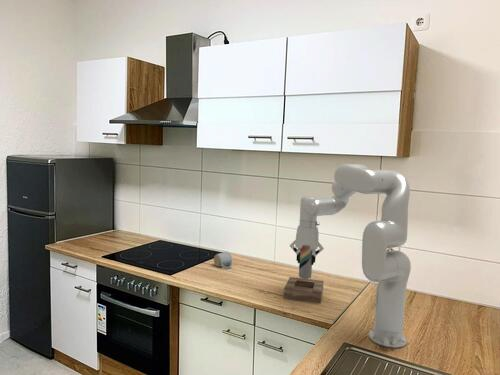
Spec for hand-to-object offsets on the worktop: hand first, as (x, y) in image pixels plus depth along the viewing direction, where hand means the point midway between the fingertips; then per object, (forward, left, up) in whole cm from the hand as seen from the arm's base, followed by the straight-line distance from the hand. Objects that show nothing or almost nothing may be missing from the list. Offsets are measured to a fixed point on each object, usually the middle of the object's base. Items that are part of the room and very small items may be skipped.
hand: (305, 262), depth 173 cm
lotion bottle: (0, 0, -7) cm, 7 cm away
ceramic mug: (+28, +48, -15) cm, 57 cm away
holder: (0, 0, -15) cm, 15 cm away
